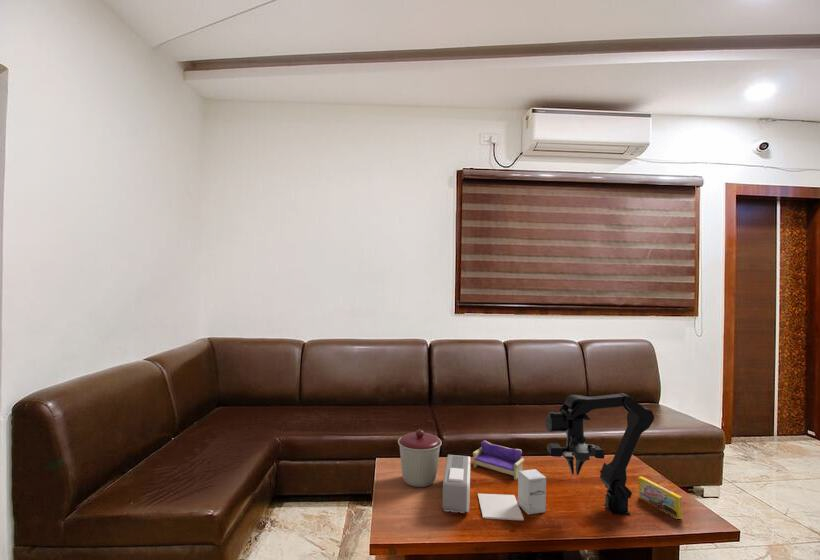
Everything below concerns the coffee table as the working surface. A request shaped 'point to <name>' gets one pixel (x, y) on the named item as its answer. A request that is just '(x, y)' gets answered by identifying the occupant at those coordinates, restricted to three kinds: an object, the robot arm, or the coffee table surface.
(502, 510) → the white flat panel
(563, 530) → the coffee table surface
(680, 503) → the candy box
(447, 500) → the grey boxy piece
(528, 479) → the supplement box
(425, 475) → the canister
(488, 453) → the toy sofa
